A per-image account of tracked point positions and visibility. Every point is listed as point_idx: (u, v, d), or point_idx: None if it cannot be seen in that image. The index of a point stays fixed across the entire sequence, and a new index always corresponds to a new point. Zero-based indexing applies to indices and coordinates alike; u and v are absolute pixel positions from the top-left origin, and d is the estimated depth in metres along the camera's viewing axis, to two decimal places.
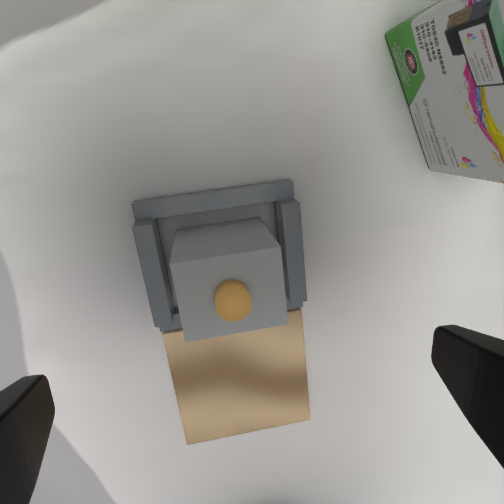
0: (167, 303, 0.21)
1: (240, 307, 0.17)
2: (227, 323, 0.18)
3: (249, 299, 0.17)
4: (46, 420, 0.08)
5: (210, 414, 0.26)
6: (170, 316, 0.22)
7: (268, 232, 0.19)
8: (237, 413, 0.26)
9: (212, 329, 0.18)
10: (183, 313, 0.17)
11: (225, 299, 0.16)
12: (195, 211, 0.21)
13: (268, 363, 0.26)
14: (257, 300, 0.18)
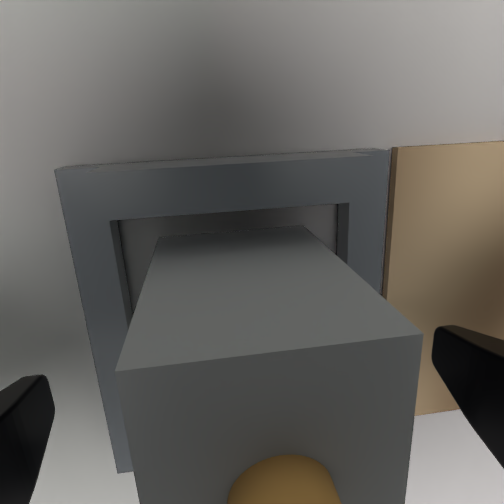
0: None
1: None
2: (368, 502, 0.06)
3: None
4: (46, 420, 0.08)
5: None
6: None
7: None
8: None
9: None
10: None
11: None
12: None
13: None
14: (312, 430, 0.05)
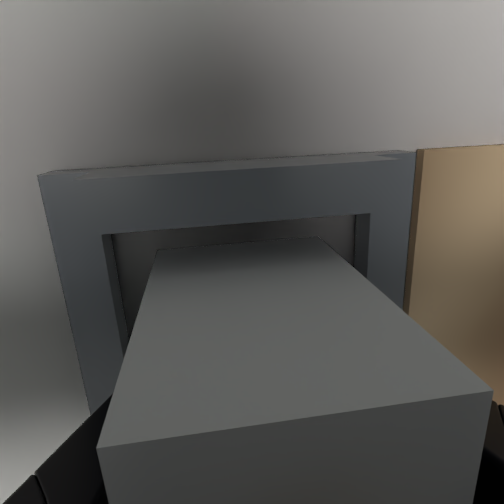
0: None
1: None
2: None
3: None
4: None
5: None
6: None
7: None
8: None
9: None
10: None
11: None
12: None
13: None
14: None
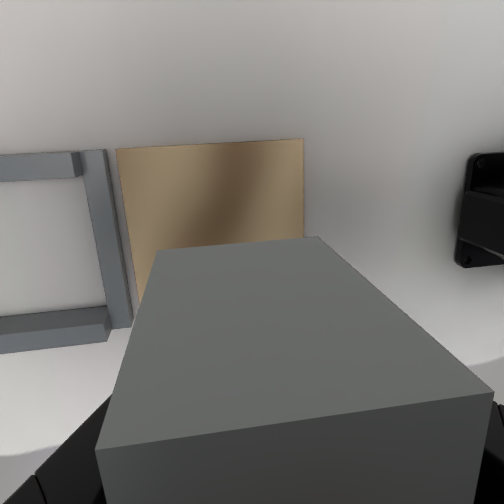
0: (74, 327, 0.18)
1: None
2: None
3: None
4: None
5: None
6: (93, 324, 0.18)
7: None
8: None
9: None
10: None
11: None
12: None
13: (197, 198, 0.19)
14: None
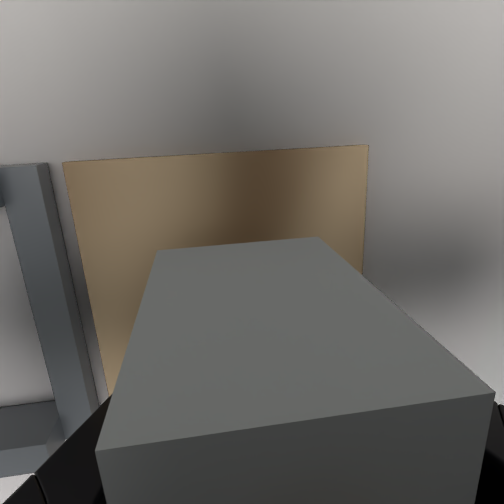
0: None
1: None
2: None
3: None
4: None
5: None
6: (30, 445, 0.11)
7: None
8: None
9: None
10: None
11: None
12: None
13: (198, 239, 0.12)
14: None
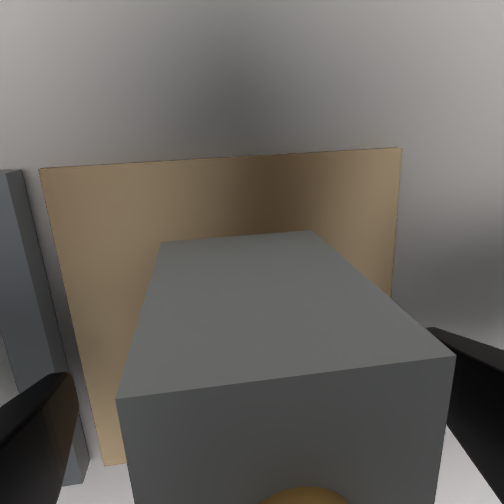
0: None
1: None
2: None
3: None
4: (71, 417, 0.08)
5: None
6: None
7: None
8: None
9: None
10: None
11: None
12: None
13: None
14: (332, 460, 0.05)
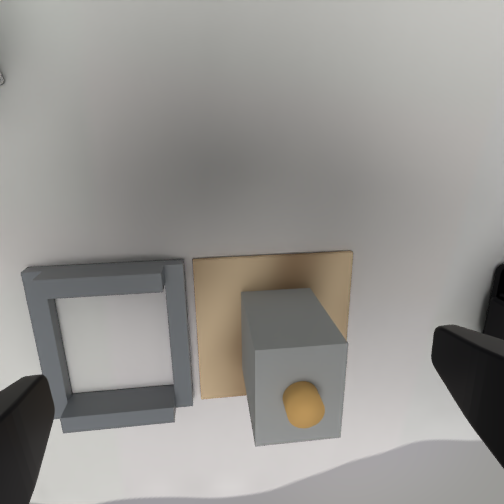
0: (148, 410, 0.21)
1: (310, 407, 0.16)
2: (330, 401, 0.17)
3: (303, 398, 0.15)
4: (46, 420, 0.08)
5: None
6: (164, 408, 0.21)
7: (248, 323, 0.18)
8: None
9: (333, 414, 0.17)
10: (308, 437, 0.17)
11: (297, 419, 0.16)
12: (59, 368, 0.21)
13: None
14: (312, 373, 0.16)
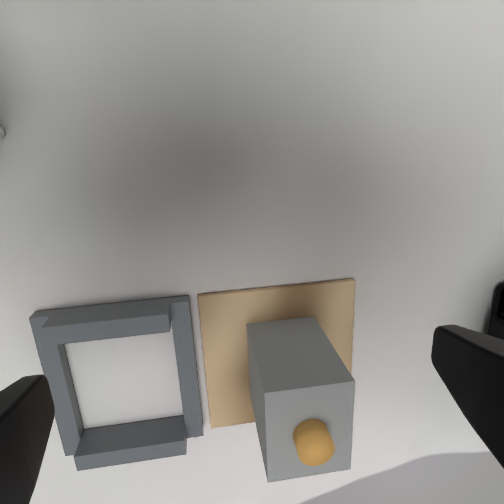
0: (160, 444, 0.21)
1: (320, 446, 0.16)
2: (339, 436, 0.17)
3: (313, 438, 0.16)
4: (46, 420, 0.08)
5: None
6: (176, 441, 0.21)
7: (255, 360, 0.18)
8: None
9: (342, 447, 0.17)
10: (319, 471, 0.18)
11: (308, 458, 0.16)
12: (70, 407, 0.21)
13: None
14: (320, 411, 0.17)
